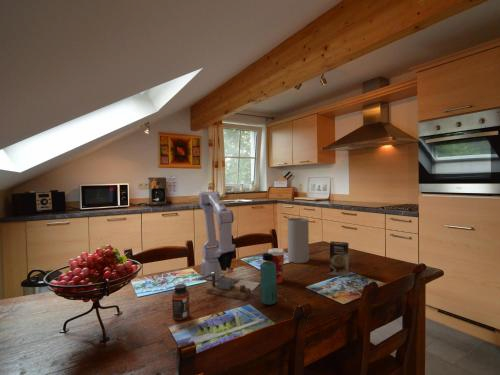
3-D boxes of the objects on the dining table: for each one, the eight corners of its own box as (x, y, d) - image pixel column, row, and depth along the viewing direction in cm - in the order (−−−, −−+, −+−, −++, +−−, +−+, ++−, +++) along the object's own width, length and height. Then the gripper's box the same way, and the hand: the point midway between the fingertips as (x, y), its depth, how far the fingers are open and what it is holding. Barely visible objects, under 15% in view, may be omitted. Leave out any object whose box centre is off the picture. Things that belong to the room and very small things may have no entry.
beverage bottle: (272, 310, 98) (271, 257, 97) (257, 305, 101) (256, 255, 100) (280, 302, 103) (279, 253, 103) (265, 299, 107) (264, 251, 106)
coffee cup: (284, 284, 121) (283, 252, 121) (266, 283, 123) (266, 252, 122) (285, 278, 129) (285, 248, 129) (269, 277, 131) (268, 247, 130)
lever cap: (217, 288, 113) (217, 280, 113) (222, 285, 117) (222, 276, 117) (229, 291, 110) (229, 282, 110) (234, 287, 114) (234, 278, 114)
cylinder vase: (285, 258, 162) (285, 218, 162) (304, 257, 164) (304, 217, 163) (291, 264, 150) (290, 221, 149) (311, 263, 151) (311, 220, 151)
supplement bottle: (190, 319, 92) (189, 288, 92) (172, 322, 90) (171, 290, 90) (189, 311, 98) (188, 281, 97) (172, 314, 96) (171, 283, 96)
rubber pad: (232, 287, 119) (232, 286, 119) (241, 280, 127) (241, 279, 127) (252, 291, 114) (252, 290, 114) (259, 283, 123) (259, 282, 123)
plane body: (206, 292, 114) (206, 277, 114) (215, 286, 120) (214, 272, 120) (243, 299, 106) (242, 283, 106) (250, 293, 113) (250, 277, 112)
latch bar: (213, 273, 118) (213, 271, 118) (216, 274, 116) (216, 272, 116) (197, 279, 111) (197, 277, 111) (201, 281, 109) (200, 278, 109)
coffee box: (329, 274, 132) (329, 243, 132) (330, 270, 138) (330, 240, 138) (348, 277, 129) (348, 245, 129) (348, 272, 135) (348, 242, 135)
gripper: (224, 242, 105) (225, 275, 105) (240, 235, 118) (241, 265, 118) (210, 241, 108) (210, 273, 108) (227, 234, 121) (227, 263, 121)
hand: (225, 269), depth 113 cm, fingers open, 3 cm apart
